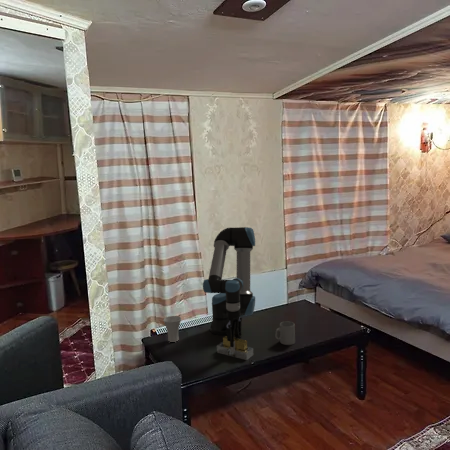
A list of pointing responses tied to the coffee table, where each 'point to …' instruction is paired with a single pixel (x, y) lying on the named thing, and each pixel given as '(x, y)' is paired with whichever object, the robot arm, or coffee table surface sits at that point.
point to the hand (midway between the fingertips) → (234, 350)
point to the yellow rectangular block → (236, 343)
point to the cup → (172, 327)
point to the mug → (286, 333)
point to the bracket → (237, 354)
